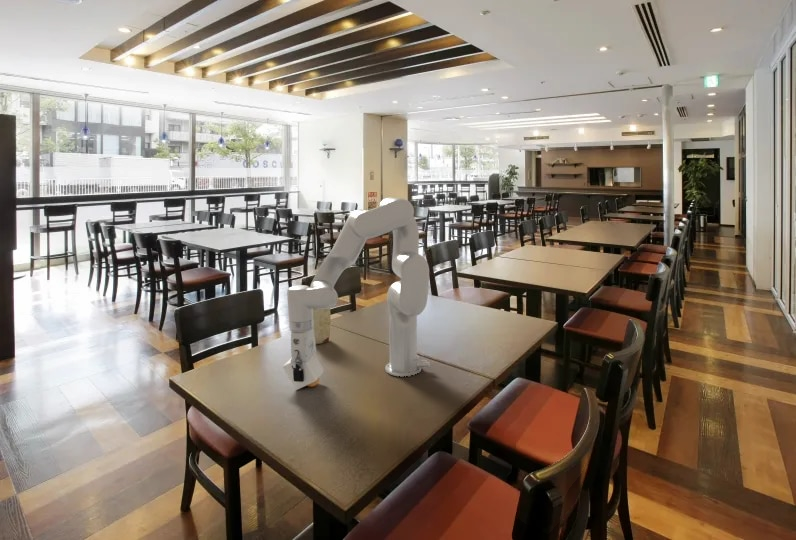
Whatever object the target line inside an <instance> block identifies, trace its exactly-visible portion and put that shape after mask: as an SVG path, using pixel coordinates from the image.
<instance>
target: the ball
mask: <svg viewBox="0 0 796 540" xmlns="http://www.w3.org/2000/svg"><path fill="white" fill-rule="evenodd" d="M319 382H320V377H319V378H318V379H317V380H316V381H315V382H313V383H311V384H308V385H306V386H307V387H316V386H317V385H318V384H319Z"/></svg>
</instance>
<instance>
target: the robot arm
mask: <svg viewBox="0 0 796 540" xmlns="http://www.w3.org/2000/svg"><path fill="white" fill-rule="evenodd" d="M414 214H415V208H414V206H413V204H412V203H411V202H410V200H408V199H405V198H401V197H393V196H392V197H391V196H389V197H385V198H383V199H382V200H381V201H380V202H379V205H378V206H377V207H375V208H370V209H367V210H366V209H355V210H353V211H352V212H351V213H350V214H349V215H348V217H347V218H346V221H345V222H344V224H343V226H342V229H341V231H340V232H339V234H338V237H337V239H336V241H335V243H334V244H333V247H332V249H331V250H330V252H328V254H327V256H326V257H325V258H324V259H323V261H322V262H321V264H320V266H319V267H318V269H317V271H316V272H315V275H314V276H313V279H312V281H311V283H310V286H309V285H306V284H305V285H303V284H299V285H293V286H290V287H288V289H287V293H286V294H287V295H286V296H287V297H286V298H287V310H288V313H287V314H288V322H289V323H288V324H289V331H290V354H291V355H290V356H291V358H292V359H291V358H290V359H291V365H292V370H293V378H294V381H296V382H303V381H304V374H303V369H302V366H303V362H305V363H306V362H307V361H309V360H310V358H311V357H312V356H313V355H314V354H316V353H317V344H316V343H315V334H314V329H313V328H314V325H313V309H329V308H330V309H331V308H334V307H335V306H336V304H337V302H338V299H339V294H338V292H337V291H336V289H335V285H336V283H337V281H338V280H339V279H340V278H339V277H341V275H342V273H343V272H344V270H346V269H348V268H349V267H351V266H353V265H354V264H355V263H356V261H357V260H358V258H359V255H360V254H361V252H362V250H363V248H364V247H365V244H366V242H367V240H368V239H369V240H370V239H374V238H376V237H380V236H382V235H385V234H387V233H390V232H392V237H393V238H392V242H393V243H392V244H393V245H392V257H391V259H392V260H391V269H392V271H393V273H394V274H395V275H396V276H397V277H399V278H400V280H398V281H395V282H393V283H392V284H391V285H390V286H389V287H388V290H387V292H386V293H387V294H386V301H387V307H388V308H387V309H388V319H389V321H388V323H389V327H388V329H389V332H388V333H389V335H388V337H389V362H388V363H387V364H385V372H386V373H387V374H388V375H391V376H395V377H399V376H400V377H402V378H403V377H404V376H405V377H404V378H406V376H408V377H412V376H411V375H413V376H415V374H416V375H418V374H419V373H420V372H422V368H425V369H430V364H431V363H430V361H427V359H420V358H419V357H420V355H418V318H417V317H418V316H419V315H421V314H422V313H423V312H424V310H425V309H426V307H427V302H428V296H429V284H430V283H429V281H430V266H429V263H428V261H427V259H426V258H425V257H424V256H423V255H421V254H419V252H420V251H419V250H420V249H419V245H420V244H419V241H420V239H419V237H420V233H419V227H418V223H417V221H416V218H415V217H414ZM298 358H300V359H301V360H297V359H298ZM297 362H299V363H300V366H299V365H298V364H297ZM417 373H418V374H417Z"/></svg>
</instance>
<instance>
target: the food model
mask: <svg viewBox="0 0 796 540" xmlns="http://www.w3.org/2000/svg"><path fill="white" fill-rule="evenodd" d="M331 318H332V317H331V308H329V309H313V325H314V328H313V329H314V334H315V343H316V345H318V344H324V343H326V342H329V340H330V334H331Z"/></svg>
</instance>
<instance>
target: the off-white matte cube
mask: <svg viewBox="0 0 796 540" xmlns="http://www.w3.org/2000/svg"><path fill="white" fill-rule="evenodd" d="M315 354H316V353H315ZM315 354H314V355H313V356H312V357H311V358H310V360H309V361H307V362H306V363H305V362H303V366H302V369H303V374H304V381H303V382H296V381H294V378H293V370H292V365H291V359H292V357H291V358H290V359H288V360H287V361H286V362H285V364H284V365H282V369H283V370H284V372H285V373H286V376H287V377H288V379H289V380H290V382H291V384H292V385H293V387H294V389H295V391H297V390H300V389H302V388H304V387H306V386H307V385H308V384H311V383H313V382H315V381H316V380H317V379H318V378H319V379H320V377H321V375H322V374H323V373H324V372H325V369H323V366H322V365H321V363H320V362H319V360H318V358H317V356H316V355H315ZM297 360H301V359H300V358H298V359H297ZM297 364H298V365H299V366H300V363H299V362H297Z"/></svg>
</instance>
